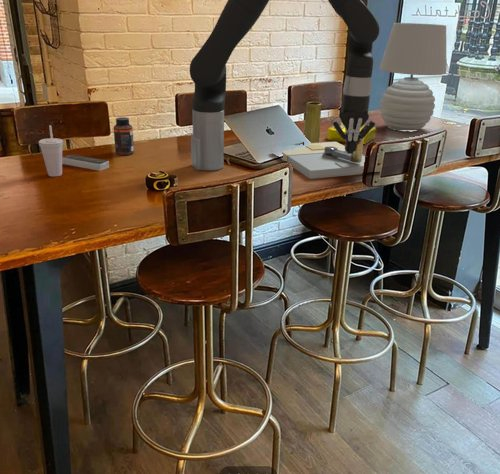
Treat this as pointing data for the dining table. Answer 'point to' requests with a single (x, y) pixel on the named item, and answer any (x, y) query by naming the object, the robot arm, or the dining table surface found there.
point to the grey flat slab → (322, 161)
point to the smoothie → (52, 154)
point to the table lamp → (412, 73)
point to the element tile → (336, 137)
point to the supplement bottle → (123, 137)
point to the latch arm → (354, 157)
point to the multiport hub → (85, 162)
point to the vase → (312, 121)
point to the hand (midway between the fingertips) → (349, 152)
